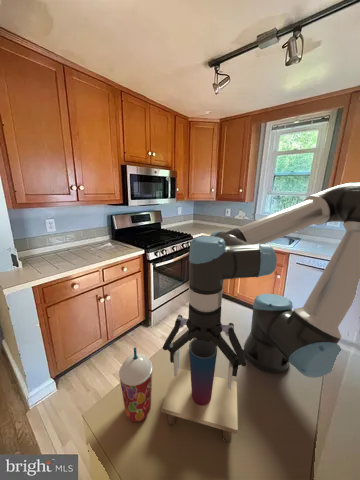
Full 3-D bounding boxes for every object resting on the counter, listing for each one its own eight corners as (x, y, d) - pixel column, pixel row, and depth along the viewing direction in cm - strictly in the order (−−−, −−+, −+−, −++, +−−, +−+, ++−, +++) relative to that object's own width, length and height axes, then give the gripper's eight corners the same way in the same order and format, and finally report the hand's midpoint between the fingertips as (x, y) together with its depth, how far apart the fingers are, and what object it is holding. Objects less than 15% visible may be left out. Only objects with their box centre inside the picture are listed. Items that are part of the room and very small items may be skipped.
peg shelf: (235, 398, 57) (236, 381, 55) (235, 450, 45) (237, 430, 44) (174, 383, 61) (174, 367, 60) (161, 427, 50) (161, 408, 48)
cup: (183, 401, 50) (184, 351, 46) (194, 379, 56) (195, 333, 52) (209, 414, 47) (211, 362, 43) (218, 390, 53) (220, 342, 49)
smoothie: (155, 395, 58) (153, 336, 53) (151, 428, 49) (149, 362, 45) (127, 395, 58) (122, 336, 53) (118, 428, 49) (112, 362, 45)
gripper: (260, 302, 46) (252, 376, 51) (159, 289, 52) (161, 356, 57) (265, 322, 39) (255, 405, 44) (148, 304, 45) (151, 379, 50)
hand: (202, 377), depth 51 cm, fingers open, 13 cm apart
